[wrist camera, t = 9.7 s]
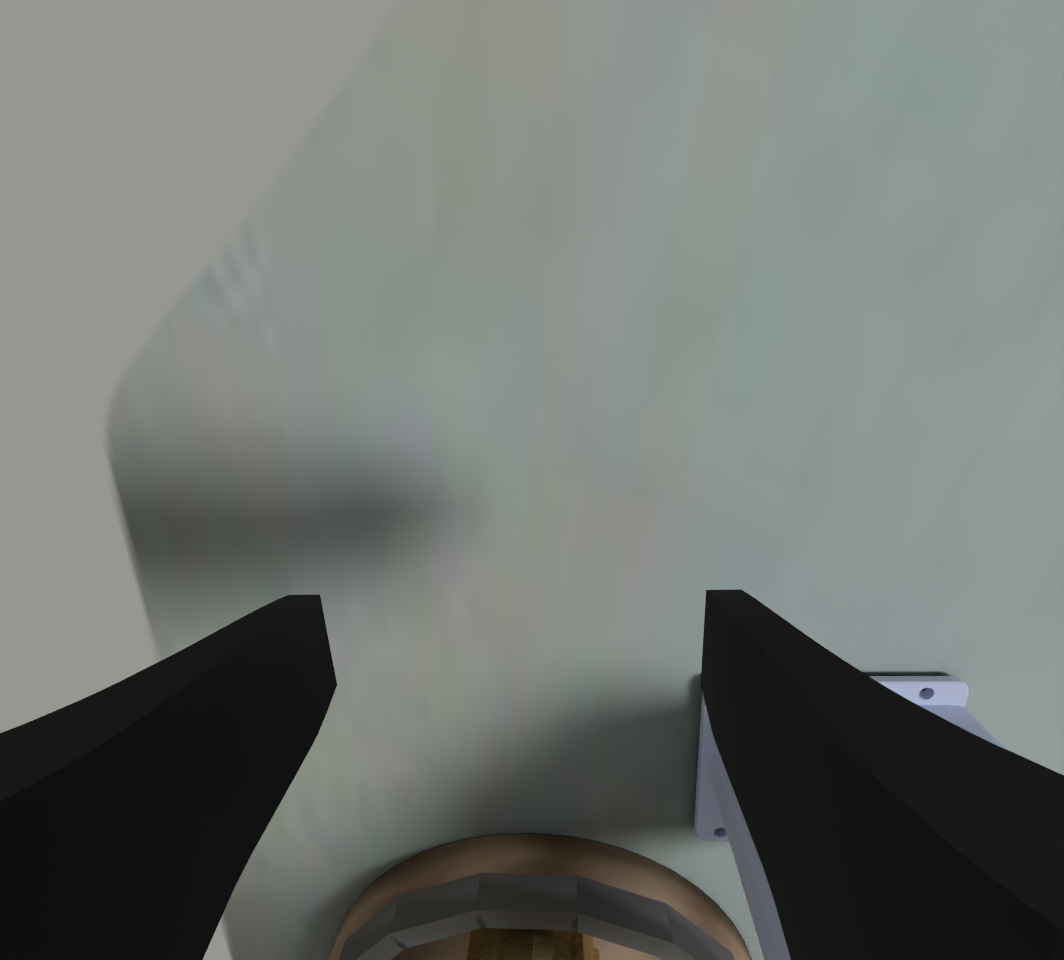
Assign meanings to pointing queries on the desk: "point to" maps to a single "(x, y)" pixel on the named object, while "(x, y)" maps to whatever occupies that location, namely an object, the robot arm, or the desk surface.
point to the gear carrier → (535, 902)
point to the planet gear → (530, 945)
